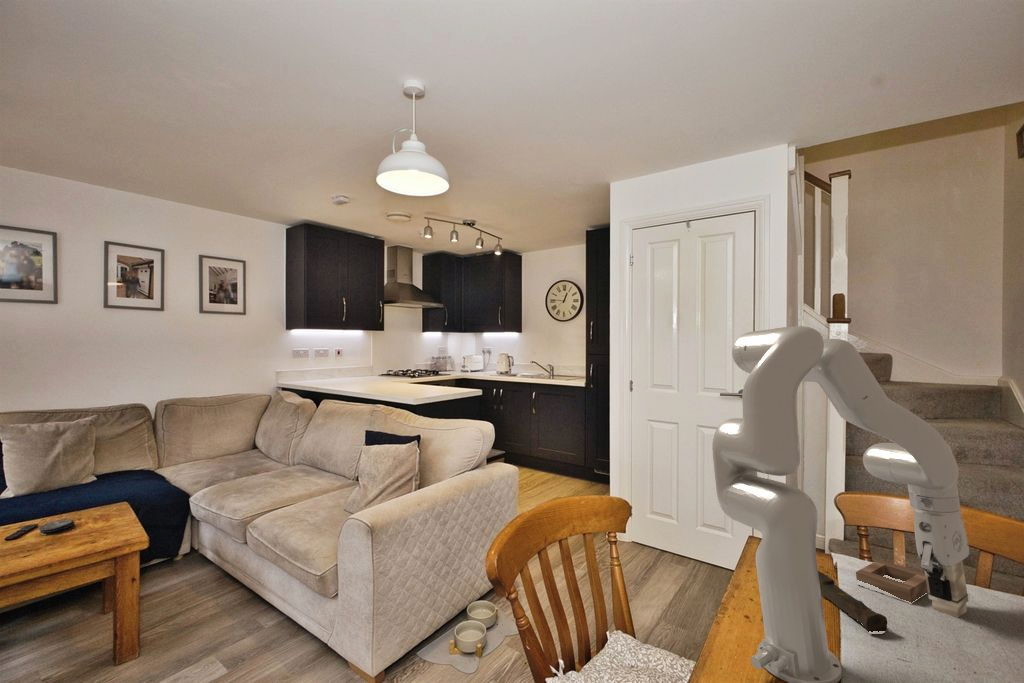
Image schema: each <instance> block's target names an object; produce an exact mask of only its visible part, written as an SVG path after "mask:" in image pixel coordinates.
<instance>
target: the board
mask: <svg viewBox="0 0 1024 683" xmlns="http://www.w3.org/2000/svg"><path fill="white" fill-rule="evenodd" d="M884 575H888V576H890V577H892V578H895V579H900V580H902V581H905V582H903V583H902V582H898V581H895V580H892V579H889V578H886V577H883V576H884ZM855 576H856V577H855V578H856V581H857V580H859V581H862V582H864V583H868V584H870V585H873V586H875V587H878V588H879V589H881V590H883V591H886V592H888V593H890V594H892V595H894V596H896V597H898V598H900V599H903V600H906V601H909V602H911V603H912V602H913V601H915V600H916V599H918V598H919V597H921V596H922V595H924V594H925V593H927V592H928V590H927V583H926V576H925V572H923V571H920V570H916V569H913V568H909V567H906V566H903V565H899V564H896V563H893V562H888V561H885V560H882V559H878V560H876V561H874V562H872V563H870V564H868V565H866V566H864V567H863V568H861V569H859V570H856V571H855Z"/></svg>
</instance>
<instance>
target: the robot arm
mask: <svg viewBox="0 0 1024 683" xmlns="http://www.w3.org/2000/svg"><path fill="white" fill-rule="evenodd" d="M731 355H732V359H733V362H734V363H735V365H736V366H737V367H738V368H739V369H741V370H742V372H743V371H744V372H746V373H748V374H749V375H748V376H747V378H746V381H745V382H744V385H743V387H742V388H743V390H742V394H741V397H742V398H741V399H742V403H741V404H742V418H740V417H739V418H738V417H735V418H729V419H726V420H724V421H723V422H722V423H720V424H719V425H718V427H717V428H716V429H715V432H714V435H713V439H712V444H711V445H712V458H713V459H712V460H713V468H714V469H713V472H714V482H715V489H716V491H715V492H716V497H717V500H718V504H719V507H720V509H721V510H722V511H723V513H724V514H725V515H726V516H727V517H729V519H732V520H734V521H735V522H737V523H740V524H741V525H744V526H747V527H750V528H752V529H754V530H756V531H758V532H760V533H761V536H762V537H761V540H760V543H759V545H758V547H757V548H756V552H755V566H756V573H757V582H758V591H759V597H760V605H761V614H762V621H763V622H762V623H763V629H764V630H763V631H764V638H762V641H760V643H759V644H758V646H757V653H756V654H754V655H752V656H751V657H750V662H751V664H752V666H753V667H754V668H755V669H756V670H761V669H762V668H764V669H766V670H767V672H769V673H770V674H772V675H773V676H775V677H776V678H778V679H780V680H782V681H784V682H787V683H839V682H840V680H841V679H842V676H843V669H842V665H841V664H842V663H841V662H840V660H839V659H838V657H837V656H836V655H835V654H834V653H833V652H832V651H830V650H829V645H828V638H827V637H828V636H827V630H826V624H825V615H824V607H823V599H822V598H823V597H822V596H821V590H820V583H819V576H818V570H819V569H818V561H817V549H816V546H817V545H816V544H817V542H816V541H817V533H818V532H817V530H818V521H819V518H818V515H819V514H818V510H817V506H816V505H815V502H814V500H813V499H812V498H811V497H810V496H809V494H807V493H806V492H804V490H801V488H798V487H796V486H794V485H792V484H787V483H784V482H781V481H777V480H774V479H770V478H764V477H761V476H758V473H760V474H766V475H771V476H778V477H784V476H786V477H787V476H789V475H792V474H794V473H795V472H796V471H797V470H798V468H799V466H800V463H801V448H800V447H801V446H800V436H799V429H798V428H799V427H798V419H797V406H796V405H797V403H796V400H797V393H798V389H799V387H800V386H801V383H802V382H812V383H813V382H814V383H817V384H818V385H819V387H820V388H821V389H822V391H823V393H824V394H825V395H826V397H827V398H828V400H829V401H830V403H831V404H832V406H833V407H834V409H835V410H836V412H837V413H838V415H839V416H840V418H842V419H843V420H844V421H846V422H847V423H850V424H852V425H854V426H856V427H857V428H860V429H863V430H865V431H867V432H870V433H873V434H876V435H878V436H879V437H882V438H884V439H886V440H889V441H891V442H878V443H875V444H873V445H870V447H868V448H867V449H866V450H865V451H864V453H863V455H862V456H863V457H862V464H863V466H864V468H865V470H866V471H867V472H868V473H869V474H870V475H871V476H873V477H875V478H876V479H880V480H883V481H886V482H887V481H888V482H892V483H897V484H901V485H903V484H904V485H907V492H908V497H909V498H908V500H909V503H910V505H909V506H910V508H911V509H912V510H913V522H914V523H913V526H914V538H915V546H916V551H917V555H918V558H919V559H920V560H921V563H920V568H921V569H923V570H924V572H925V571H926V575H927V576H928V582H929V589H930V594H931V595H932V596H934V597H937V598H940V599H943V600H946V601H951V600H952V595H951V588H950V582H949V580H946V579H947V576H946V567H952V566H954V565H955V564H957V563H959V562H960V561H963V560H965V559H966V558H968V557H969V555H970V546H969V542H968V537H967V533H966V528H965V523H964V520H963V517H962V514H961V513H962V510H961V503H960V497H959V491H958V489H959V488H958V479H959V466H958V463H957V460H956V457H955V456H954V454H953V450H952V447H951V446H950V444H949V443H947V442H946V441H945V439H944V438H943V436H942V435H941V434H940V433H939V431H937V429H936V428H935V427H933V426H932V425H931V424H929V423H928V422H927V421H925V420H924V419H922V418H921V417H920V416H918V415H916V414H915V413H913V412H911V411H910V410H909V409H907V408H906V407H904V406H902V405H900V404H899V403H897V402H895V401H893V400H891V399H890V398H889V397H888V396H887V394H886V393H885V392H884V390H883V388H882V387H881V385H880V384H879V382H878V380H877V379H876V377H875V376H874V374H873V372H872V371H871V369H870V368H869V366H868V365H867V364H866V362H865V360H864V358H863V357H862V356H861V354H860V352H859V351H858V349H857V348H856V347H855V346H854V344H852V343H851V342H850V341H847V340H845V339H840V338H823V336H822V334H821V333H820V332H819V331H818V330H817V329H815V328H812V327H809V326H801V325H800V326H799V325H796V326H793V325H792V326H784V327H776V328H771V329H763V330H761V329H760V330H755V331H754V330H753V331H749V332H745V333H743V334H742V335H740V336H739V337H738V338H736V339H735V341H734V342H733V345H732V349H731ZM933 558H935V559H937V560H938V562H937V561H933ZM933 565H937V566H940V571H939V570H938V569H937V568H935V567H934V566H933Z"/></svg>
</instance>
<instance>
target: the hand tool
mask: <svg viewBox="0 0 1024 683" xmlns="http://www.w3.org/2000/svg"><path fill="white" fill-rule="evenodd" d="M818 576H819V583H820V590H821V598H823V599H824V600H826V601H830V602H831V603H832V604H834V605H836V607H837V608H838V609H841V610H842V612H844V613H846V614H847V613H848V614H849V615H850V616H849V617H851V618H852V617H853V618H854V619H853V618H852V619H853V620H855V619H856V620H858V621H859V622H860V623H862V624H863V625H864V626H865V627H864V626H863V625H862V626H863V627H864V628H866V632H867V631H868V632H869V631H871V632H873V631H878V632H879V631H886V630H887V631H888V619H887V617H886V616H884V615H883V614H882V613H878V612H876V611H874V610H872V609H871V608H870V607H868V606H867V605H866V604H865V603H864V602H863V601H862V600H858V599H857V598H855V597H853V596H852V595H850V594H849V593H847V592H846V591H845V590H843V589H842V588H841V587H839V586H837V584H836V583H835V580H834V579H833V578H831V577H829V576H828V575H827V574H825V573H823V572H821V571H818ZM856 620H855V621H856ZM858 621H857V622H858ZM859 622H858V623H859ZM860 623H859V624H860ZM887 631H886V632H887ZM868 632H867V633H868Z"/></svg>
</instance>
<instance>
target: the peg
mask: <svg viewBox="0 0 1024 683" xmlns="http://www.w3.org/2000/svg"><path fill="white" fill-rule="evenodd" d="M933 561H937V562H938V560H937V559H935V558H933ZM933 566H934V567H935V568H937V569H938V570H939V571H940V566H937V565H933ZM964 570H965V569H964V562H963V560H962V561H960V562H959V563H957V564H955V565H954V566H952V567H946V576H947V579H946V580H949V582H950V588H951V595H952V600H951V601H946V600H943V599H940V598H937V597H934V596H932V595H931V594H930V589H929V582H928V576H927V575H926V571H925V570H924V573H925V576H926V583H927V590H928V592H927V593H928V594H927V596H928V599H929V600H930V601H932V602H931V603H932V609H933V610H934V609H935V610H934V611H937V610H938V611H937V612H940V613H942V614H945V615H948V616H951V617H954V618H957V619H959V618H961V616H963V615H964V614H965V613H967V611H968V610H967V603H969V593H968V590H967V582H966V576H965V571H964Z"/></svg>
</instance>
